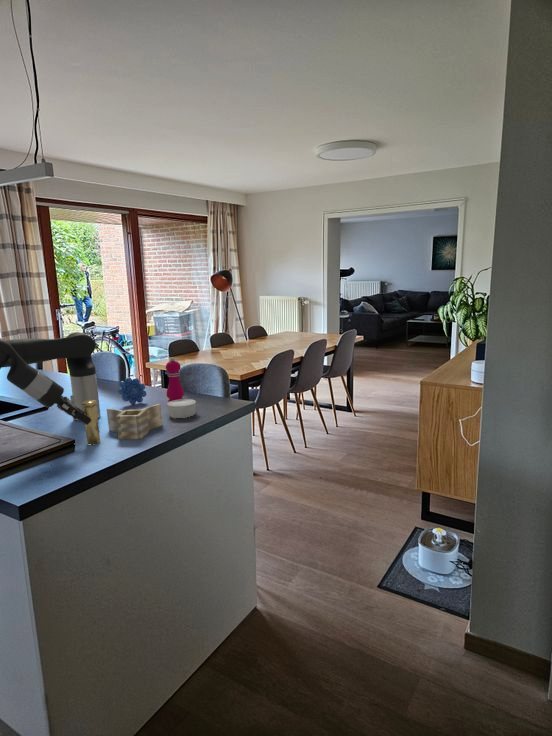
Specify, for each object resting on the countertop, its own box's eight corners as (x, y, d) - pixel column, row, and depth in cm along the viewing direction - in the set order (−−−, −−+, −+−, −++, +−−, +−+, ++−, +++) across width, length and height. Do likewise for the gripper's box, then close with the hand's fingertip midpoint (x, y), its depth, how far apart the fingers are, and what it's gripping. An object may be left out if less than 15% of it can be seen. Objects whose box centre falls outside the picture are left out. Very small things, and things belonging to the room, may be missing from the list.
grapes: (122, 408, 197) (119, 380, 195) (118, 405, 203) (115, 377, 200) (150, 404, 203) (147, 376, 201) (145, 400, 209) (143, 374, 206)
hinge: (97, 439, 160) (94, 416, 158) (114, 425, 174) (112, 404, 173) (149, 438, 158) (147, 415, 157) (162, 424, 173) (161, 403, 172)
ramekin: (186, 409, 192) (185, 397, 191) (203, 414, 184) (202, 401, 183) (162, 416, 185) (161, 403, 184) (178, 421, 177) (177, 408, 176)
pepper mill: (176, 406, 197) (172, 359, 193) (163, 405, 201) (159, 358, 197) (188, 402, 203) (184, 356, 199) (175, 400, 207) (172, 355, 203)
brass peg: (84, 445, 154) (79, 403, 152) (90, 440, 159) (85, 400, 156) (97, 445, 154) (92, 403, 152) (103, 440, 159) (98, 399, 156)
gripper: (31, 394, 150) (74, 423, 159) (37, 404, 139) (83, 434, 147) (48, 376, 152) (89, 405, 160) (55, 383, 140) (99, 414, 148)
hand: (86, 419), depth 153 cm, fingers open, 8 cm apart
